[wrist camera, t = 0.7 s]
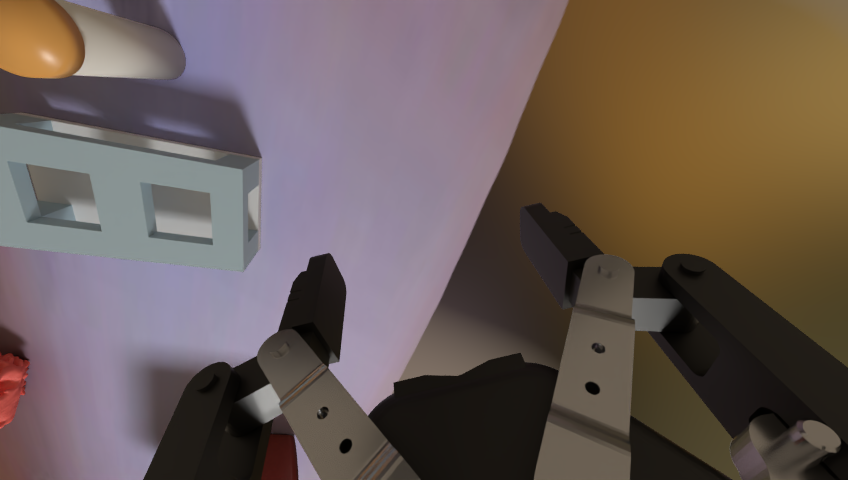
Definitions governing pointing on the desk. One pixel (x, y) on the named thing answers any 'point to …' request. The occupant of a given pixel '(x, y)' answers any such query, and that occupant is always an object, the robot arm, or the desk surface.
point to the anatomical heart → (11, 385)
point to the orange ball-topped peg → (82, 43)
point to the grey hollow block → (126, 195)
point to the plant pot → (280, 459)
